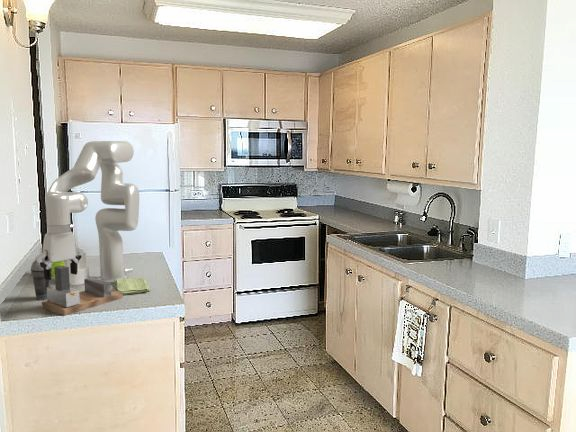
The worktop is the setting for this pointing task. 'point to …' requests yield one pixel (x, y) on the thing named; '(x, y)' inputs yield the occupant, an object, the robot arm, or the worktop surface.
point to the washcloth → (131, 285)
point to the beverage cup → (40, 280)
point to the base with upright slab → (79, 271)
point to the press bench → (88, 297)
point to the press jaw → (62, 289)
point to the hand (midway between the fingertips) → (61, 276)
